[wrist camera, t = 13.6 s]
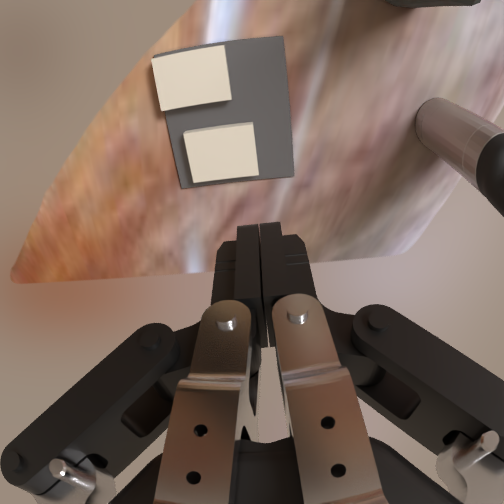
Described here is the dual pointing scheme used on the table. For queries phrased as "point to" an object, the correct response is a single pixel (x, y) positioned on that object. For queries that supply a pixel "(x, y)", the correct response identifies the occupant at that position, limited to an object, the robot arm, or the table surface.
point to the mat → (243, 108)
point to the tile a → (192, 77)
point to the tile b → (222, 152)
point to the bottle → (432, 3)
